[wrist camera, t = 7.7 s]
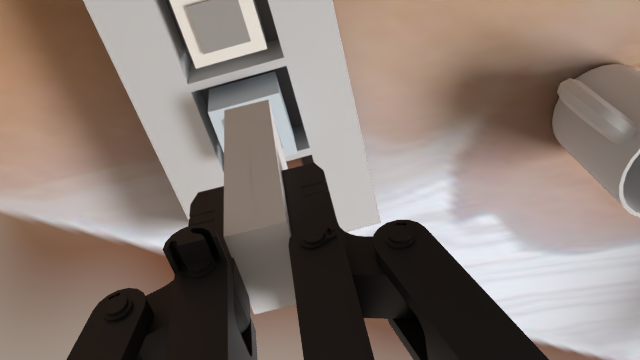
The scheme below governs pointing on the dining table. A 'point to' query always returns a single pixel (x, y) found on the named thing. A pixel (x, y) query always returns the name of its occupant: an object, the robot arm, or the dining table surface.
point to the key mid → (248, 94)
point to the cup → (604, 128)
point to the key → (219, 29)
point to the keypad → (193, 84)
